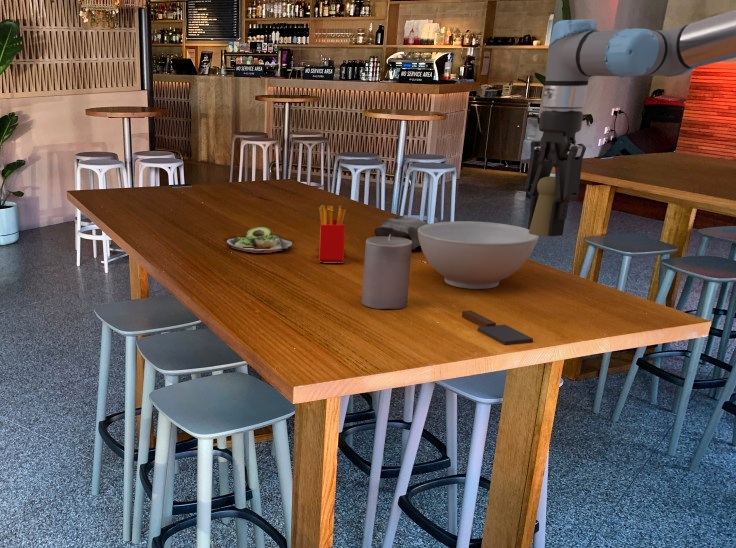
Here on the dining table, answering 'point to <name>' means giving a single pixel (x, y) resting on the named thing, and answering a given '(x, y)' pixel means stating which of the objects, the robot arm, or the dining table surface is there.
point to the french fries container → (331, 235)
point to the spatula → (496, 329)
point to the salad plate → (259, 241)
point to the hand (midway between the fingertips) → (544, 232)
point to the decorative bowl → (475, 251)
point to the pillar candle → (386, 272)
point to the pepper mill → (543, 206)
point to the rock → (401, 228)
